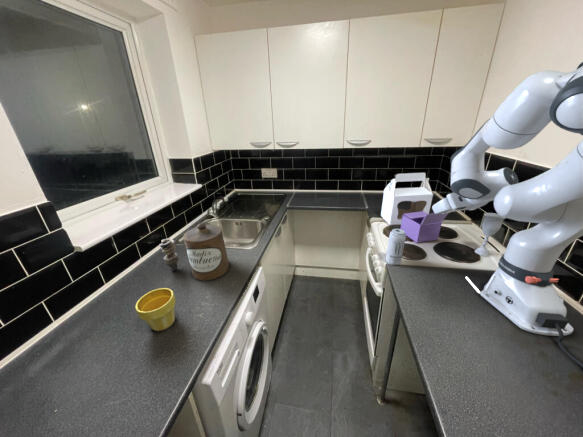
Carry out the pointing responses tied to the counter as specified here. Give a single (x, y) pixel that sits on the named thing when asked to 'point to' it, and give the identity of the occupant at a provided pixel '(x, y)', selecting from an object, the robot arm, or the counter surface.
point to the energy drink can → (395, 246)
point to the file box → (419, 227)
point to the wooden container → (206, 251)
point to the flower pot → (157, 308)
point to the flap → (433, 218)
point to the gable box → (406, 197)
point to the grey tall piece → (169, 253)
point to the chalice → (489, 230)
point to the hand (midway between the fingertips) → (443, 212)
